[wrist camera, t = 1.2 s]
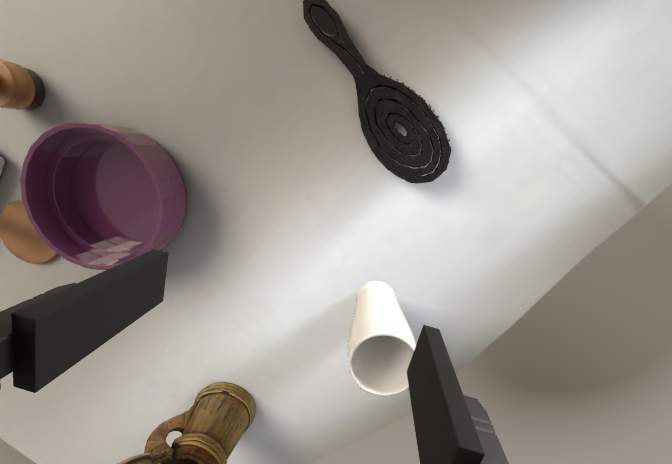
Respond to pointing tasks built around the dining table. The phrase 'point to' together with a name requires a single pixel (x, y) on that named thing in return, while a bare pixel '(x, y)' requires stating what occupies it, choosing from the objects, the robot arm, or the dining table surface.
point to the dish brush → (19, 87)
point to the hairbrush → (385, 105)
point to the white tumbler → (379, 341)
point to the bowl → (101, 193)
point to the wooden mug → (202, 429)
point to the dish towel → (1, 164)
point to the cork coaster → (23, 235)
